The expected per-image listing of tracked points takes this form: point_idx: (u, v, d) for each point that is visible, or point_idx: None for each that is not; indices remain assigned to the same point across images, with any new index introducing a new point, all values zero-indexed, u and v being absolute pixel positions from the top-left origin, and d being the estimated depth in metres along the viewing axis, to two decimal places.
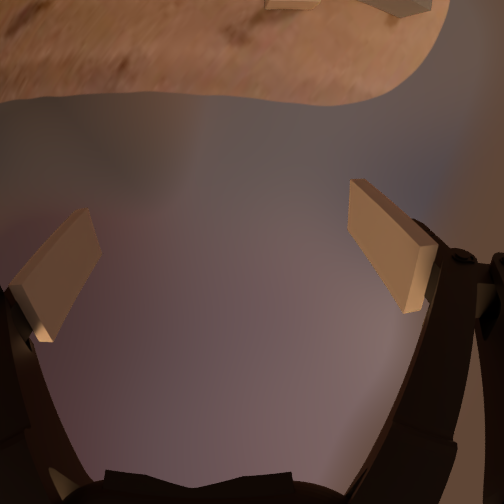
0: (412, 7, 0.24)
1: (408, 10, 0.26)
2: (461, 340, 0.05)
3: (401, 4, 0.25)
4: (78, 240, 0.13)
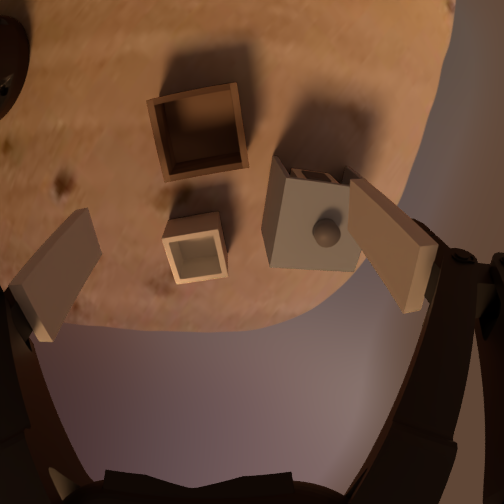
0: None
1: None
2: (461, 340, 0.05)
3: None
4: (78, 240, 0.13)
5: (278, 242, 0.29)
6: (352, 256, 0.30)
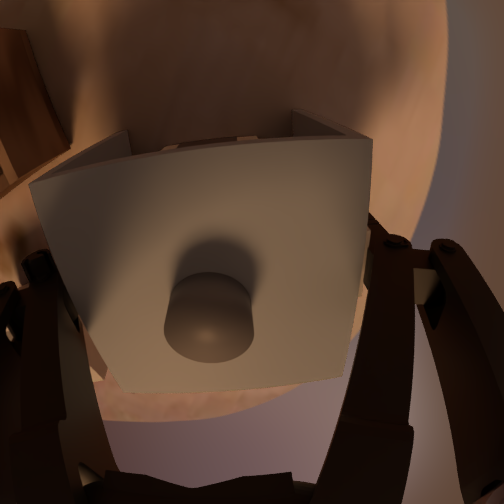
0: None
1: None
2: (402, 324, 0.06)
3: None
4: None
5: (104, 348, 0.10)
6: (328, 349, 0.10)
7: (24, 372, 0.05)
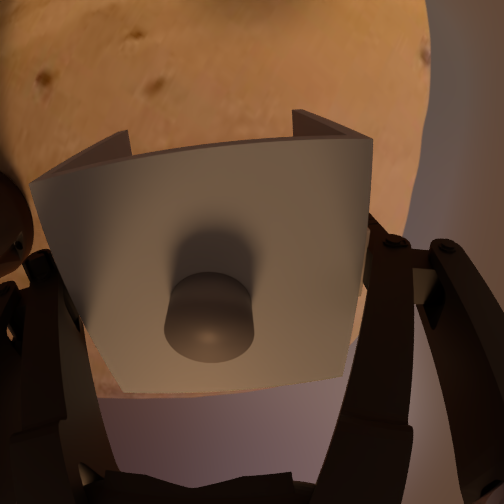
0: None
1: None
2: (401, 324, 0.06)
3: None
4: None
5: (104, 347, 0.10)
6: (328, 349, 0.10)
7: (24, 372, 0.05)
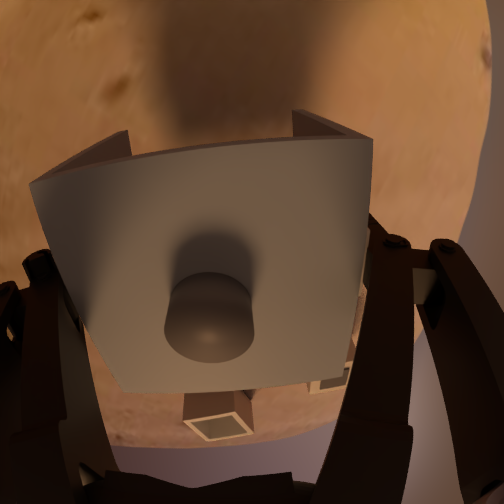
0: None
1: None
2: (401, 324, 0.06)
3: None
4: None
5: (104, 348, 0.10)
6: (328, 349, 0.10)
7: (25, 372, 0.05)
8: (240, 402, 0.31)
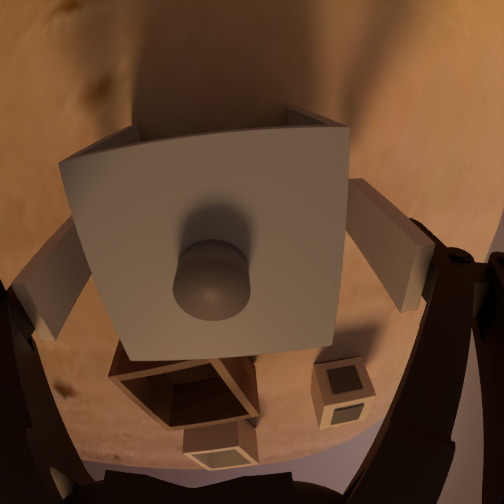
0: None
1: None
2: (458, 339, 0.05)
3: None
4: None
5: (115, 314, 0.11)
6: (317, 316, 0.12)
7: None
8: (244, 434, 0.28)
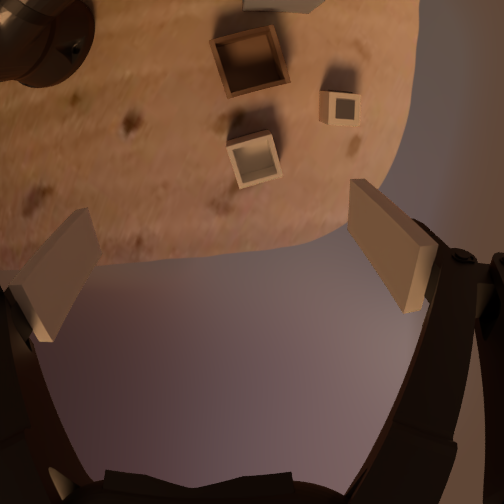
0: (307, 3, 0.27)
1: (307, 6, 0.29)
2: (461, 340, 0.05)
3: (296, 3, 0.28)
4: (78, 240, 0.13)
5: None
6: None
7: None
8: None
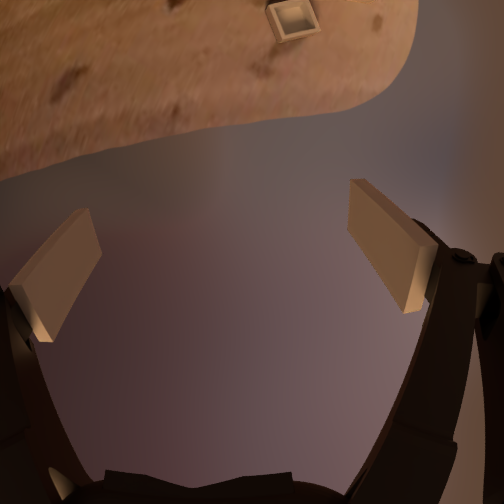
0: None
1: None
2: (461, 340, 0.05)
3: None
4: (78, 240, 0.13)
5: None
6: None
7: None
8: None
